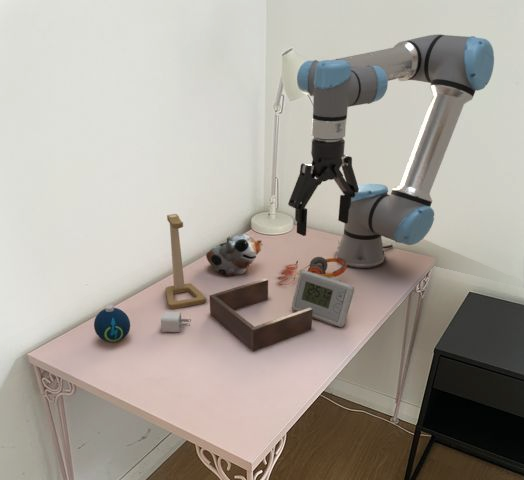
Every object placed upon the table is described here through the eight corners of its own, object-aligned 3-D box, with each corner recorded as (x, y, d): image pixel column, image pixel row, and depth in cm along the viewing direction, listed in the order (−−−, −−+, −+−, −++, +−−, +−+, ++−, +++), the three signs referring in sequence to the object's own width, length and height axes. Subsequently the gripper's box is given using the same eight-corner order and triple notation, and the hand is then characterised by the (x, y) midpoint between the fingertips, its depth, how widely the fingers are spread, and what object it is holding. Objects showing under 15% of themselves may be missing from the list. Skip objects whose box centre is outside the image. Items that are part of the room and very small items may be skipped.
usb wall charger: (165, 324, 138) (163, 311, 136) (192, 325, 138) (191, 311, 136) (162, 332, 135) (160, 319, 132) (189, 333, 135) (188, 319, 132)
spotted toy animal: (237, 254, 174) (257, 221, 165) (254, 281, 169) (275, 248, 160) (198, 253, 164) (217, 217, 155) (215, 281, 159) (235, 246, 150)
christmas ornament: (92, 348, 129) (84, 312, 123) (103, 329, 136) (96, 294, 130) (126, 350, 128) (121, 313, 123) (136, 331, 135) (131, 296, 130)
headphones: (277, 294, 157) (345, 286, 152) (273, 277, 155) (342, 269, 149) (286, 270, 171) (349, 262, 165) (283, 254, 168) (347, 246, 163)
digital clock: (288, 309, 145) (289, 273, 139) (311, 299, 150) (313, 263, 144) (332, 333, 135) (336, 296, 129) (356, 321, 140) (360, 285, 134)
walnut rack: (265, 297, 150) (265, 278, 147) (311, 329, 136) (312, 309, 133) (210, 315, 142) (209, 295, 139) (253, 351, 128) (253, 330, 125)
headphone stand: (169, 309, 144) (161, 231, 132) (160, 291, 153) (152, 216, 140) (207, 303, 147) (202, 226, 135) (196, 285, 156) (191, 211, 144)
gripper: (295, 150, 113) (292, 244, 125) (379, 133, 125) (369, 221, 137) (274, 142, 118) (273, 234, 130) (357, 127, 130) (349, 212, 142)
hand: (322, 227), depth 134 cm, fingers open, 13 cm apart
